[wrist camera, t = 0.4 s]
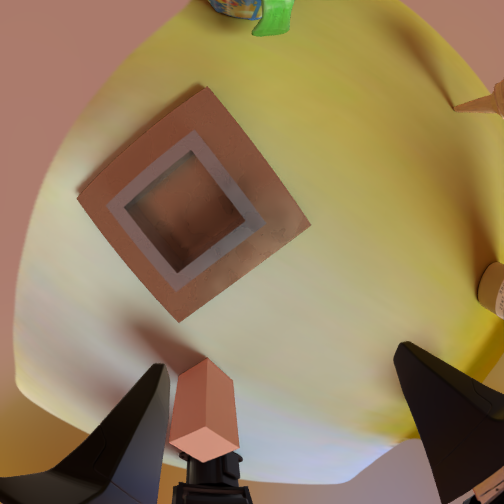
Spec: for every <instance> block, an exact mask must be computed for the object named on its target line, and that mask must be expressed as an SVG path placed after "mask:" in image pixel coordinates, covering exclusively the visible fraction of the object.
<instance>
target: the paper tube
mask: <svg viewBox="0 0 504 504" xmlns="http://www.w3.org/2000/svg"><path fill="white" fill-rule="evenodd" d="M478 300H479V302H480V304H481V305H482V306H483V307H485V308H486V309H488V310H490V311H491V312H493V313H494V314H496V315H497V316H499V317H501V318H502V319H504V264H501V263H499V262H495V263H492V264H491V265H489V266H488V268H487V269H486V270H485V272H484V274H483V276H482V278H481V281H480V284H479V289H478Z"/></svg>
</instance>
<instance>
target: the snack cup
mask: <svg viewBox="0 0 504 504" xmlns="http://www.w3.org/2000/svg"><path fill="white" fill-rule="evenodd" d="M208 1H209V3H210V4H211V6H212V7H213V8H214V9H215V10H216V11H217V12H221V13H224V14H226V15H229V16H232V17H236V18H242V19H249V20H258V19H260V18H261V19H260V21H259V22H258V24H257V25H256V26H255V27H254V29H253V30H252V35H254V36H260V37H262V36H270V35H279V34H284V33H286V32H287V31H288V30H289V27H290V16H291V10H292V6H293V4H294V0H208Z"/></svg>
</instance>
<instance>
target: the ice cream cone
mask: <svg viewBox="0 0 504 504" xmlns="http://www.w3.org/2000/svg"><path fill="white" fill-rule="evenodd" d="M454 111H455V112H472V113H497V114H499V115H500V116H501V117H502V118H503V119H504V79H503V80H502V81H501V82H500V83H497V84H495V87H494V91H493V93H492V94H491V95H488V96H485V97H481V98H478V99H476V100H473V101H469V102H467V103H464V104H461V105H458V106H455V107H454Z"/></svg>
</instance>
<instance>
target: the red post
mask: <svg viewBox="0 0 504 504" xmlns="http://www.w3.org/2000/svg"><path fill="white" fill-rule="evenodd" d="M169 443H170V444H172V445H174V446H175V447H177V448H179V449H180V450H182V451H184V452H185V453H187V454H189V455H191V456H192V457H194V458H196V459H198V460H200V461H201V462H206V461H208V460H211V459H214V458H216V457H219V456H222V455H224V454H226V453H229V452H231V451H234V450H236V449H238V448H240V447H239V438H238V428H237V418H236V408H235V397H234V386H233V380H232V379H230V378H229V377H228V376H227V375H226V374H225V373H224V372H223V371H221V370H220V369H219V368H218V367H217V366H216V365H215V364H214V363H213V362H212V361H211V360H209V359H208V358H206V359H205V360H203V361H202V362H200V363H198V364H197V365H195V366H194V367H192V368H190V369H189V370H187V371H186V372H184V373H182V374H181V375H179V377H178V383H177V389H176V395H175V402H174V408H173V415H172V422H171V429H170V437H169Z"/></svg>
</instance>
